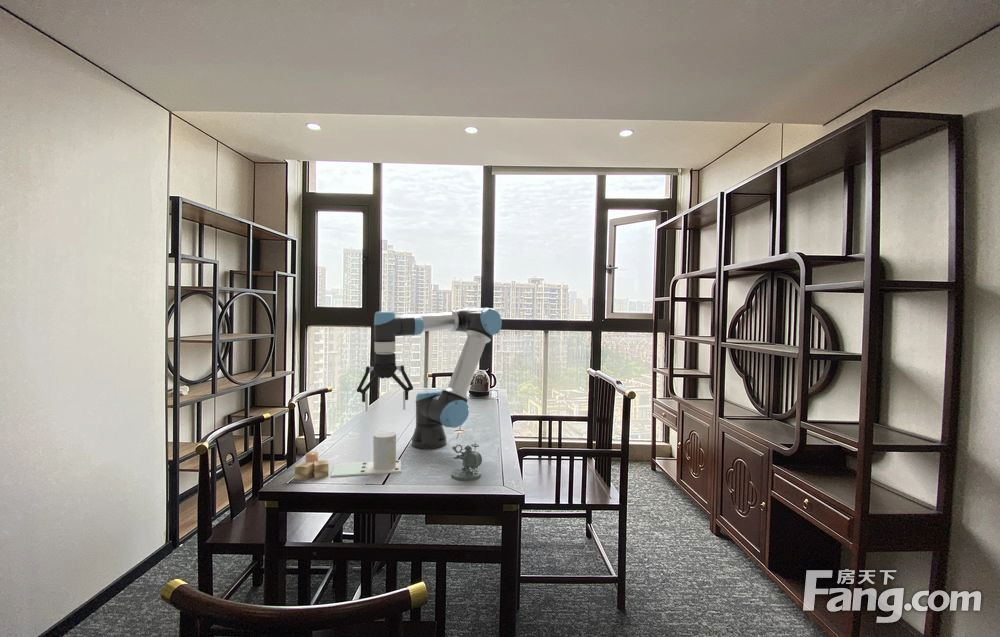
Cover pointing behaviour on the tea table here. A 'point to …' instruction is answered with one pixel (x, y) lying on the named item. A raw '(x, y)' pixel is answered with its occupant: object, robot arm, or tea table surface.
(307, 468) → the oak block
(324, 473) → the oak block
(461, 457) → the figurine
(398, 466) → the pad two
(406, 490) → the tea table surface
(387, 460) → the cup
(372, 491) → the tea table surface
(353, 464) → the pad three
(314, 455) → the terracotta cylinder
